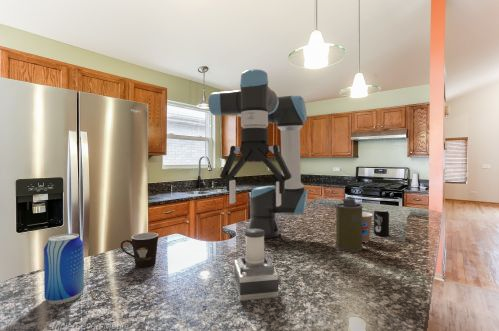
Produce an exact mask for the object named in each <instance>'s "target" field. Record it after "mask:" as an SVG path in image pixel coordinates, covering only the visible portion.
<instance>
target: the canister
mask: <svg viewBox="0 0 499 331" xmlns="http://www.w3.org/2000/svg"><path fill="white" fill-rule="evenodd" d="M342 201H343V203H336V204H335V208H336V209H335V213H336V215H335V216H336V217H335V218H336V219H335V227H336V228H335V238H336V239H335V248H337V249H339V250H341V251H344V252H352V253H353V252H354V253H355V252H361V251H362V250H363V249H364V248H363V243H362V212H363V207H364V206H363V205H362V204H360V203H357V202H356V200H355V198H350V197H349V198H343V199H342Z"/></svg>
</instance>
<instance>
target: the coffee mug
mask: <svg viewBox="0 0 499 331" xmlns="http://www.w3.org/2000/svg"><path fill="white" fill-rule="evenodd" d="M158 242H159V233H156V232H141V233H136V234H133V235H132V236H131V240H130V239H125V240H123V241H121V243H120V249H121V250H122V251H123V252H124V253H126V254H127V256H130V257H132V258H133V259H134V266H135V268H137V269H141V270H142V269H149V268H152V267H155V265H156V260H157V251H158ZM124 243H129V244H130V245H131V246H132V249H133V250H132V252H133V254H132V253H130V252H129V251H127V250H126V249H125V248H124V247H123V246H124Z"/></svg>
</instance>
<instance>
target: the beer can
mask: <svg viewBox="0 0 499 331" xmlns="http://www.w3.org/2000/svg"><path fill="white" fill-rule="evenodd" d="M43 262H44V263H43V272H44V274H43V277H44V280H43V281H44V286H43V287H44V289H43V290H44V300H46V301H47V302H48V304H50V305H55V304H56V305H62V304H63V303H64V304H67V303H70V302H73V301H75V300H76V299H78V298H79V297H80V296H81V295H82V294H81V293H83V291H84V289H85V288H84V287H85V284H84V276H85V275H84V274H85V273H84V272H85V271H84V241H83V240H81V238H80V235H79V233H62V234H57V235H53V236H50V237H48V239H47V243H46V245H45V246H44V247H43ZM66 302H67V303H66ZM64 304H63V305H64Z"/></svg>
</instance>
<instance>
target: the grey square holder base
mask: <svg viewBox="0 0 499 331" xmlns="http://www.w3.org/2000/svg"><path fill="white" fill-rule="evenodd" d="M245 258H246V255H245V256H238V257H237V258H236V259H234V265H233V266H234V267H233V269H234V270H233V273H234V275H233V276H234V282H235V285H236V290H237V293H238V297H239V301H248V300H258V299H259V300H260V299H262V300H263V299H269V298H270V299H271V298H279V273H278V272H277V270H276V269H275V264H274V263H273V262H272V260H271V259H270V257H269V256H266V255H265V254H264V266H256V267H246V262H245Z"/></svg>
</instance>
